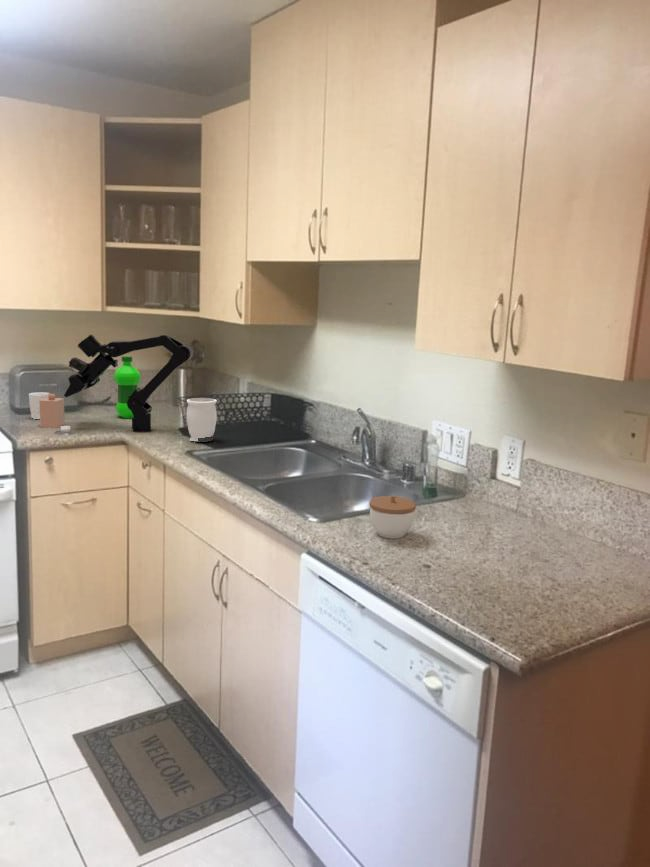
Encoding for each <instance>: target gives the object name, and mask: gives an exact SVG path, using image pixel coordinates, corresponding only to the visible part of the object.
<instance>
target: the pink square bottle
mask: <svg viewBox="0 0 650 867" xmlns="http://www.w3.org/2000/svg"><path fill="white" fill-rule="evenodd" d="M39 403H40V420H39V422H40V428H51V429H52V428H55V429H56V428H57V429H58V428H60V427H61V426H65V424H66V417H65V398H63V397H56V394H55V393H50V394H48V398H45V399H42V400H40V401H39Z"/></svg>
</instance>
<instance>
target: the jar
mask: <svg viewBox="0 0 650 867" xmlns="http://www.w3.org/2000/svg"><path fill="white" fill-rule="evenodd" d="M217 401H218V400H217V399H215V398H209V397H192V398H188V399H186V403H187V408H186V424H187V430H188V433H189V436H190V438H189V441H190V442H191V441H198V438H205V437H211V436H212V437H213V436H214V433H215V430H216V424H217V419H218V417H217V415H218V414H217V407H216V404H217Z"/></svg>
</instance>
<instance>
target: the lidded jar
mask: <svg viewBox="0 0 650 867" xmlns="http://www.w3.org/2000/svg"><path fill="white" fill-rule="evenodd" d="M416 506H417V504H416V503H415V501H413V500H411V499H410V498H406V497H403V496H396V495H395V494H392V495H382V496H381V495H380V496H376V497H373V498H371V499H370V500H369V518H370V523H371V526H372V527H373V529H374V530H375V531H376V532H377V535H378V536H380V537H381V538H386V539H392V540H393V539H401V538H403V537H404V536H405V535H406V534H407V533H408V532H409V531H410V529H412V526H413V524H414V520H415V515H416V510H417V509H416Z"/></svg>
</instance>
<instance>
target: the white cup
mask: <svg viewBox="0 0 650 867" xmlns="http://www.w3.org/2000/svg"><path fill="white" fill-rule="evenodd" d="M48 394H51V393H50V392H45V391H44V392H41V391H38V392H37V391H35V392H31V393H30V392H29V393H28V401H29V410H30V417H31V419H32V418H33V419H32V420H35V419H40V403H39V401H40V400H42V399H45V398H48Z"/></svg>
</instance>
